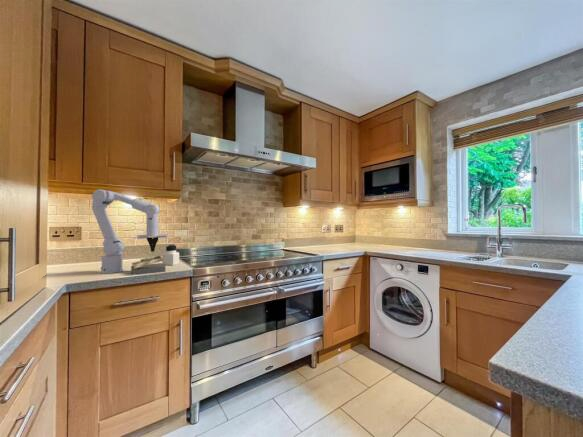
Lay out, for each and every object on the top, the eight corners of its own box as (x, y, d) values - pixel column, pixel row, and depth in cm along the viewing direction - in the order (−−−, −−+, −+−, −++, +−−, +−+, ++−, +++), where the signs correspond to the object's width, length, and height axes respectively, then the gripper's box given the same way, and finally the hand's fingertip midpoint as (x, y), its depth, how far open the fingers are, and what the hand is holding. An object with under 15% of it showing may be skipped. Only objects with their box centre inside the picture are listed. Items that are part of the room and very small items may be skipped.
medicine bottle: (179, 263, 163) (179, 244, 163) (173, 265, 156) (173, 245, 156) (168, 263, 164) (168, 244, 164) (162, 265, 157) (162, 245, 157)
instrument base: (132, 275, 130) (132, 269, 130) (131, 270, 141) (131, 265, 141) (165, 271, 139) (165, 266, 139) (161, 267, 150) (161, 263, 150)
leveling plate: (133, 268, 131) (132, 263, 131) (132, 265, 141) (130, 259, 140) (163, 260, 139) (162, 255, 138) (160, 257, 149) (158, 252, 148)
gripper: (137, 227, 134) (137, 253, 134) (168, 226, 142) (168, 251, 142) (136, 226, 139) (136, 251, 139) (166, 226, 148) (166, 249, 148)
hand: (152, 251), depth 141 cm, fingers closed
